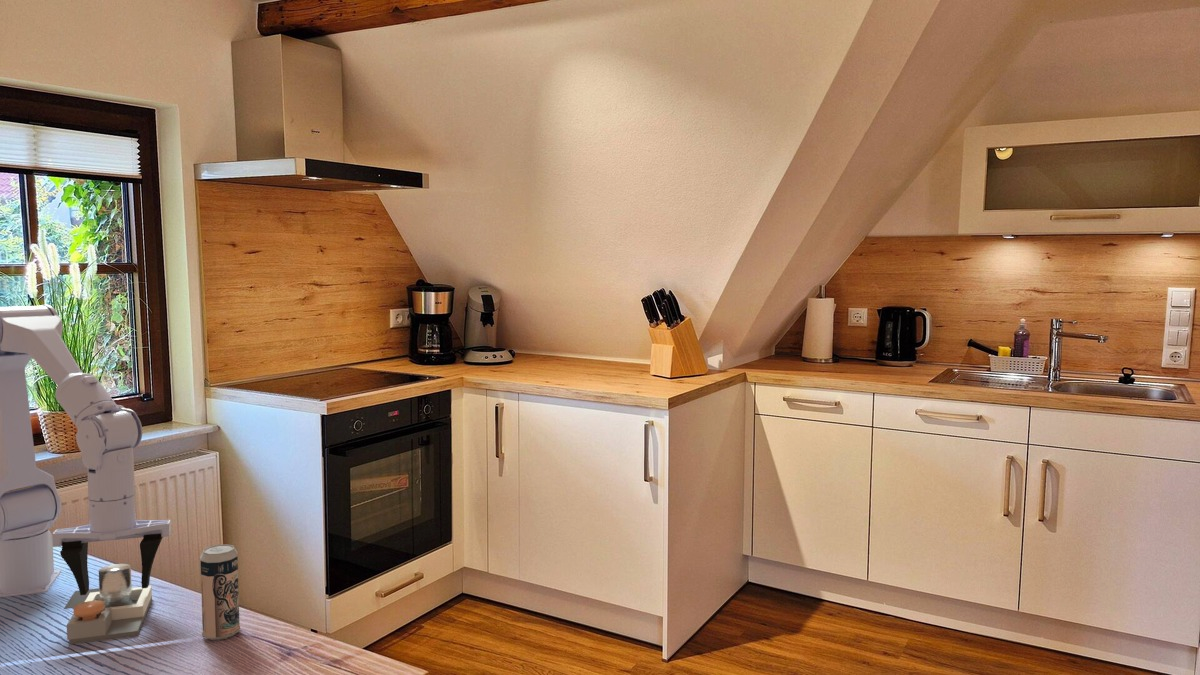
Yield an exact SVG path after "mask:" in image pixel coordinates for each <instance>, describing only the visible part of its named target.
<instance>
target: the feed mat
mask: <svg viewBox="0 0 1200 675" xmlns="http://www.w3.org/2000/svg"><path fill="white" fill-rule="evenodd" d="M91 592H99V587H98V588H89V590H88V592H87V594H86V595H80V591H79V590H74V592H73V593H72V595H71V596H70V598H69V600H67V603H66V604H65V605H64V607H63V609H64V610H65V609H73V608H74V607H75V606H76V605H78V604H80V603H83V602H85V600H86V599H87V597H88V595H89V594H90V593H91Z"/></svg>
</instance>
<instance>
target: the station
mask: <svg viewBox="0 0 1200 675" xmlns="http://www.w3.org/2000/svg"><path fill="white" fill-rule="evenodd" d="M152 588H153V587H152V585H149V586H148V588H143V589H142V586H136V587H132V605H126V606H118V607H109V608H105V610H104V611H103V612H101V613H99V614H97V615H96V616H97V619H90V620H83V617H76V616H74V613H73V614H72V616H71V617H70V619H69V621H68V622H67V624H66V640H68V641H69V642H68V644H69V645H74V644H75V645H76V644H83V643H91V642H98V641H105V640H106V641H107V640H113V639H121V638H129V637H136V636H137V637H138V636H139V633H140V631H141V629H142V626H143V624H144V621H145V619H146V616H147V614H148V611H149V610H150V609H149V608H150V606H151V603H152V601H153V591H152V590H153V589H152ZM96 600H98V601H100V594H99V592H91V593H90V594H89V595H88V597H87V599H86V600H85V602H87V601H96Z"/></svg>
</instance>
